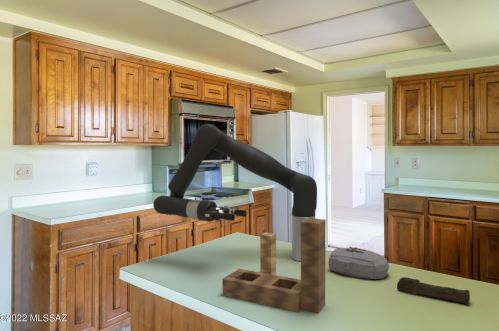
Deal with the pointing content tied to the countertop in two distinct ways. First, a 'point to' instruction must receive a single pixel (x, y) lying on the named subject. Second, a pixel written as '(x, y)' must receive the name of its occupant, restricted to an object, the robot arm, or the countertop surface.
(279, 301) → the wooden peg socket stand
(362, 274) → the small grey backpack
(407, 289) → the hand tool
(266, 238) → the rail bar
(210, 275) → the countertop surface
